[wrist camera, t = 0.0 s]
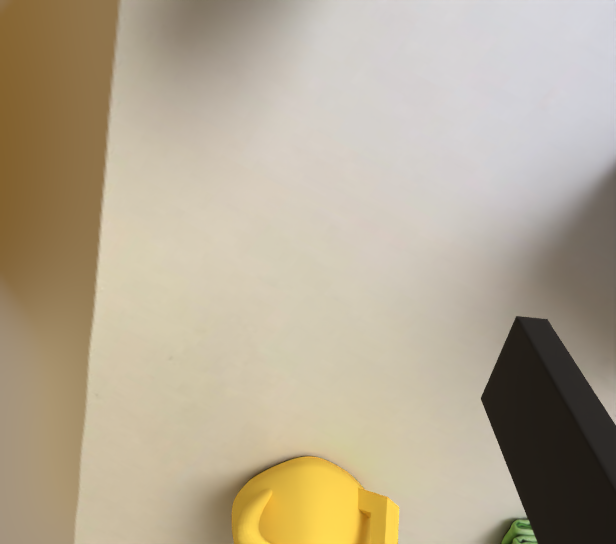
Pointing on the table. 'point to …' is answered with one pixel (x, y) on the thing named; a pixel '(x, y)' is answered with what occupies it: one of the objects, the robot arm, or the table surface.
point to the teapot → (311, 507)
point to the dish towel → (520, 533)
